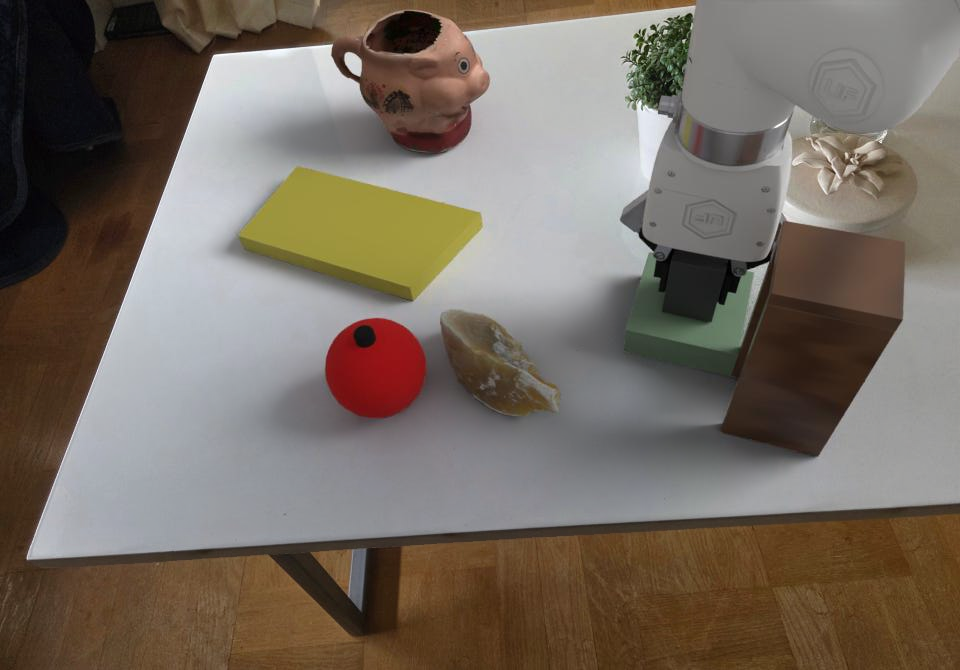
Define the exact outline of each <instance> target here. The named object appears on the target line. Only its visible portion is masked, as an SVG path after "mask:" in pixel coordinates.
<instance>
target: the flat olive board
mask: <svg viewBox="0 0 960 670" xmlns="http://www.w3.org/2000/svg"><path fill="white" fill-rule="evenodd" d="M482 229H483V217H482V212H480V211H476V210H472V209H468V208H465V207H461V206H457V205H452V204H449V203H445V202H441V201H437V200H433V199H429V198H426V197H421V196H417V195H413V194H409V193H405V192H401V191H397V190H393V189H390V188H387V187H382V186H379V185H375V184H371V183H366V182H363V181H358V180H355V179H352V178H351V179H350V178H347V177H343V176H339V175H335V174H331V173H327V172H323V171H321V170H315V169H312V168H308V167H305V166H304V167H303V166H300V165H296V167H294V169H293V170H292V171H291V173H290V174H289V175H288V176H287V177H286V178H285V179H284V180H283V182H282V183H281V184H280V185H279V187H277V189H276V190H275V191H274V192H273V194H272V195H271V196H270V197H269V198H268V199H267V200H266V202H265V203H264V204H263V206H262V207H260V208H259V210H258V211H257V212H256V213H255V215H254V216H253V217H252V218H251V219H250V221H249V222H248V223H247V224H246V225H245V226H244V227H243V229H242V230H241V232H239V234H237V237H238V239H239V241H240V243H241V246H242V247H243V249H244V251H249V252H252V253H255V254H258V255H262V256H265V257H268V258H271V259H274V260H278V261H281V262H284V263H288V264H291V265H294V266H297V267H301V268H304V269H307V270H311V271H314V272H317V273H320V274H323V275H327V276H330V277H334V278H337V279H339V280H342V281H343V280H344V281H346V282H349V283H353V284H357V285H359V286H362V287H366V288H369V289H373V290H376V291H378V292H382V293H386V294H388V295H392V296H395V297H399V298H401V299H404V300H405V299H406V300H409V301H412V302H414V301H415V300H416V299H417V298H418V297H419V296H420V295H421V294H422V293H423V291H424V290H425V289H427V288H428V286H429V285H430V284H431V283H432V282H433V281H434V280H435V279H436V278H437V277H438V276H439V275H440V274H441V272H442V271H443V270H444V269H445V268H446V267H447V266H448V265H449V264H450V263H451V261H453V259H454V258H455V257H456V256H457V255H458V254H459V253H460V252H461V251H463V249H464V247H466V246H467V245H468V243H469V242H471V240H472V239H473V238H474V237H475V236H476V235H477V234H478V233H479V232H480V231H481V230H482Z"/></svg>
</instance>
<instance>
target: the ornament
mask: <svg viewBox="0 0 960 670" xmlns="http://www.w3.org/2000/svg"><path fill="white" fill-rule="evenodd" d="M331 342H332V343H331V344H330V346H329V348H328V349H327V353H326V356H325V361H324V362H325V363H324V374H325V381H326V384H327V387H328V390H329V392H330V393H331V395H332V396H333V398H334V399H335V400H336V401H337V403H338V404H339V405H340V406H341V407H342V408H343V409H345V410H347V412H349V413H351V414H353V415H356V416H357V417H362V418H367V419H375V420H376V419H385V418H390V417H392V416H395V415H398V414H400V413H402V412H403V411H404V410H406V409H407V408H408V407H410V406H411V405H412V404H413V403H414V402H415V401H416V399H417V398H418V396H419V395H420V394H421V391H422V389H423V387H424V384H425V380H426V376H427V359H426V355H425V351H424V348H423V347H422V345H421V343H420V341H419V339H418V338H417V337H416V336H415V335H414V333H413V332H412V331H410V329H409V328H407V327H406V326H405V325H403V324H401V323H399V322H397V321H395V320H393V319H389V318H384V317H370V318H369V317H368V318H363V319H360V320H357V321H355V322H353V323H351V324H350V325H348V326H346V327H345V328H343V329H342V330H341V331H340V332H338V334H337V335H336V336H335V337H334V338H333V340H332V341H331Z"/></svg>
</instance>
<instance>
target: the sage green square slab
mask: <svg viewBox="0 0 960 670" xmlns="http://www.w3.org/2000/svg"><path fill="white" fill-rule="evenodd" d="M653 253H654V252H653V251H652V252H651V251H649V252H648V253H647V257H646V261H645V264H644V267H643V271H642V274H641V278H640V281H639V284H638V287H637V290H636V294H635V296H634V297H635V298H634V300H633V304H632V306H631V310H630V314H629V317H628V321H627V324H626V328H625V332H624V338H623V339H624V340H623V349H622V352H623V353H627V354H632V355H636V356H640V357H645V358H649V359H653V360H657V361H662V362H666V363H671V364H673V365H679V366H683V367H688V368H691V369H695V370H701V371H705V372H708V373H713V374H718V375H723V376H727V377H731V378H732V373H733V370H734V367H735V364H736V361H737V358H738V356H739V351H740V346H741V343H742V341H743V336H744V335H743V334H744V329H745V324H746V319H747V313H748V308H749V303H750V297H751V293H752V288H753V280H754V277H755V272H754V271H749V270H747V273H746V275H745V276H742V277H741V279H740V282H739V285H738V288H737V292H736V294H735V293H730V292H728V294H727V298H726V301H725V305H720V304H719V303H718V302H717V305H716V309H715V312H714V316H713V319H712V322H707V321H702V320H698V319H693V318H689V317H684V316H679V315H675V314H670V313H666V312H662V307H663V302H664V297H665V291H664V293H663V292H659V291H658V290H659V284H660V278H657V277H654V270H655V264H656V259H655V258H654V257H653Z"/></svg>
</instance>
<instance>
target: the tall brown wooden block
mask: <svg viewBox="0 0 960 670" xmlns="http://www.w3.org/2000/svg"><path fill="white" fill-rule="evenodd" d="M906 252H907V241H904V240H897V239H891V238H888V237H887V238H886V237H881V236H874V235H870V234H863V233H857V232H851V231H847V230H846V231H845V230H840V229H834V228H829V227H822V226H817V225H813V224H812V225H811V224H805V223H800V222H795V221H790V220H789V221H788V220H787V221H783V223H782V226H781V229H780V232H779V235H778V238H777V241H776V244H775V247H774V250H773V253H772V256H771V258H770V261H769V262H768V263H767V268H766V270H765V274H764V276H763V279H762V282H761V285H760V288H759V290H758V294H757V296H756V300H755V302H754V306H753V308H752V312H751V315H750V316H749V320H748V323H747V325H746V329H745V332H744V335H743V337H742V340H741V345H740V351H739V356H738V358H737V361H736V364H735V367H734V370H733V373H732V376H731V378H734V379H737V381H736V384H735V387H734V390H733V393H732V395H731V398H730V401H729V403H728V407H727V409H726V411H725V415H724V418H723V419H722V420H723V421H722V423H721V428H720V433H722V434H725V435H730V436H733V437H738V438H742V439H744V440H749V441H753V442H757V443H761V444H765V445H769V446H773V447H776V448H780V449H785V450H789V451H792V452H797V453H800V454H805V455H808V456H812V457H815V458H818V457H820V455H821V453H822V452H823V450H824V449H825V446H826V445H827V443H828V442H829V440H830V439H831V437H832V435H833V433H834V432H835V430H836V429H837V427H838V426H839V424H840V422H841V421H842V419H843V418H844V416H845V414H846V412H847V411H848V409H849V408H850V406H851V404H852V403H853V401H854V399H855V398H856V396H857V395H858V393H859V392H860V390H861V388H862V386H863V385H864V383H865V382H866V380H867V379H868V377H869V375H870V374H871V372H872V370H873V369H874V368H875V366H876V364H877V362H878V361H879V359H880V357H882V354H883V353H884V351H885V349H887V346H888V344H889V343H890V342H891V340H892V338H893V336H894V335H895V334H896V331H897V330H898V329H899V327H900V325H901V324H902V322H903V321H904V307H905V306H904V304H905V282H906V281H905V279H906V278H905V277H906V255H907V253H906Z"/></svg>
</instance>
